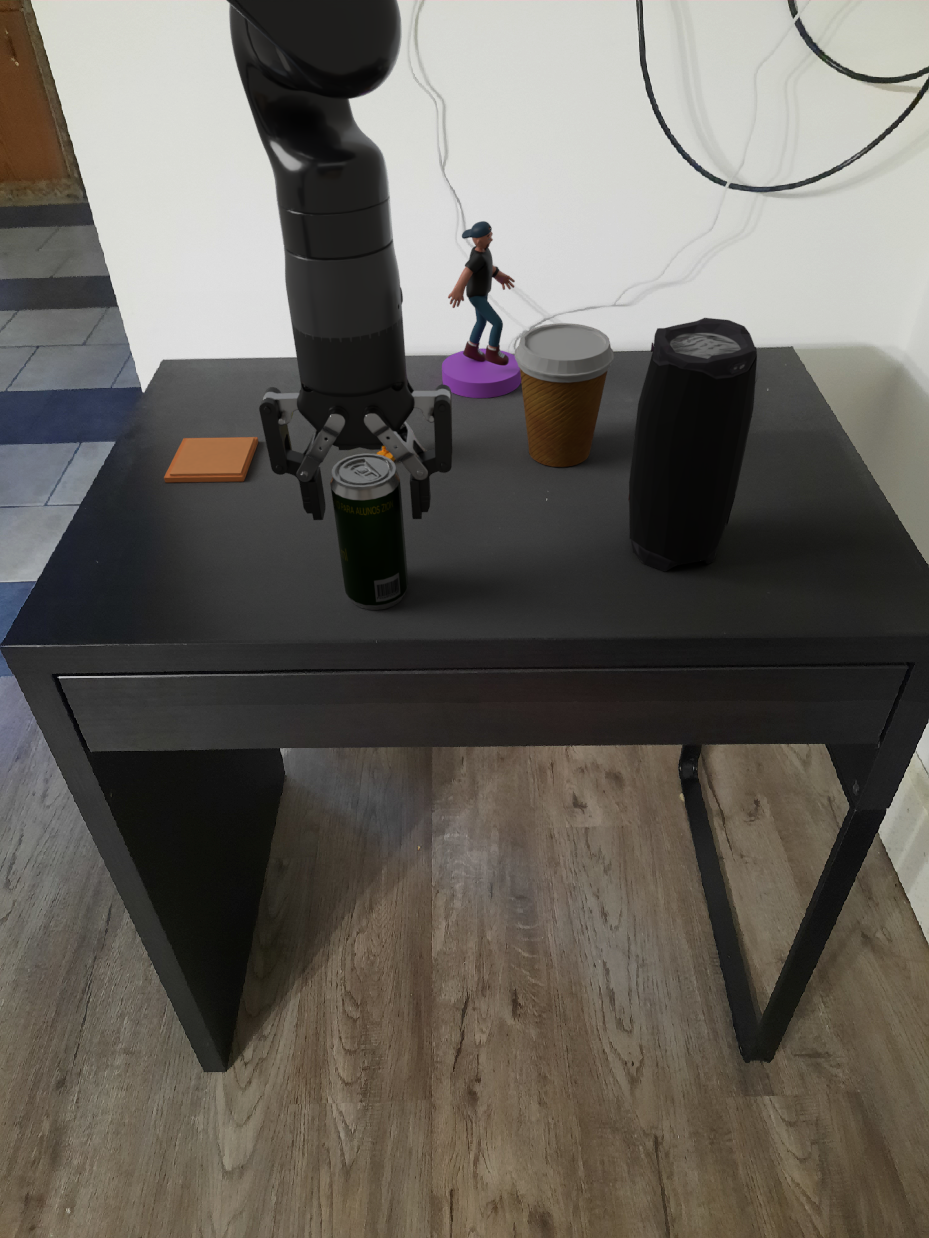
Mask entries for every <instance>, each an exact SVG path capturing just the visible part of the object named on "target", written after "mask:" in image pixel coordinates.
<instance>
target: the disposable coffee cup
mask: <svg viewBox="0 0 929 1238" xmlns="http://www.w3.org/2000/svg"><path fill="white" fill-rule="evenodd" d="M514 355H515V359H516V361H517V363H518V367H519V368H520V374H521V383H520V384H521V392H522V401H523V409H524V418H525V425H526V426H525V427H526V436H527V445H528V454H529V456H530V458H531V459H533V460H534V461H535V462H537V463H538V464H541V465H545V466H547V467H552V468H553V467H556V468H566V467H567V468H568V467H573V466H577V465H579V464H581V463H583V462H585V461H586V460H587V459H588V458H589V456H590V453H591V449H592V445H593V440H594V435H595V431H596V426H597V421H598V417H599V412H600V407H601V403H602V398H603V393H604V388H605V384H606V380H607V375H608V370H609V369H610V367H611V365H612V363H613V362H614V358H615V352H614V350H613V349H612V347H611V341H610V338H609V336H608V335H607V334H606V333H604V332H603V331H601V330H600V329H598V328H595V327H592V326H589V325H585V324H579V323H568V322H560V323H558V322H557V323H549V324H543V325H539V326H536V327H533V328H530V329H529V330H526V331H525V332H524V333H523V334H522V335H521V337H520V339H519V343H518V346H517V347H516V348H515V350H514Z"/></svg>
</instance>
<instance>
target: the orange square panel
mask: <svg viewBox="0 0 929 1238" xmlns="http://www.w3.org/2000/svg"><path fill="white" fill-rule="evenodd" d="M258 444H259V437H257V436H249V437H248V436H242V437H241V436H239V437H234V436H233V437H183V439H182V441H181V443H180V445H179V446H178V449H177V450H176V453H175V454H174V457H173V458H172V460H171V463H170V465H169V467H168V469H167V470H166V472H165V475H164V477H163V479H164V483H223V482H224V483H226V482H228V483H229V482H230V483H232V482H244V481H245V479H246V477H247V474H248V471H249V470H250V469H249V468H250V466H251V463H252V460H253V458H254V455H255V453H256V449H257V447H258Z"/></svg>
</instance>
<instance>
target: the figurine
mask: <svg viewBox="0 0 929 1238" xmlns="http://www.w3.org/2000/svg"><path fill="white" fill-rule="evenodd" d="M492 228H493V227H492V225H491V224H490V223H489V222H488V221H485V220H483V221H478V222H475V223H474V224H473V225H472V226H471V228H468V229H465V230H464V231H463V232H462V233H461V238H462V239H464V240H465V239H470V238H471V240H472V242H473V244H474V245H475V246H473V247H472V248H471V251H470V253H469V258H468V260H467V261H466V262H465V264H464V268H463V270H462V271H461V274H460V275H459V277H458V279H457V282H456V284H455V285H454V287H453V289H452V291H451V292H450V293H449V294H448V296H447V299H449V300H450V301H449V305H452V306H451V308H452V309H455V308H459V306H460V305H461V302H465V296H464V295H465V294H466V297H467V298H468V301H469V303H470V304H471V305H472V307H473V308H474V311H475V312H474V313H475V317H476V318H475V319H476V321H475V323H474V325H473V328H472V330H471V333H470V335H469V339H468V340H467V341H466V343H465V347H464V349H463V350H460V351H458V352H455V353H453V354H451V355H449V356H447V357H446V358H445V359H444V360H443V361H442V364H441V376H442V377H441V378H442V381H441V382H442V385H447V386H449V387H450V389H451V394H455V395H458V396H461V397H464V398H471V399H472V398H473V399H490V398H497V397H501V396H504V395H507V394H509V393H512V392H513V391H515V390H516V389H518V388H519V387H520V385H521V384H522V383H521V374H520V368H519V367H518V363H517V361H516V359H515V354H513V353H510V352H509V351H506V350H501V349H500V348H501V345H500V342H501V337H502V333H503V328H504V322H503V320H502V318H501V316H500V315H499V313H497V311H496V310H495V308H494V307H493V306H492V305H491V304H490V302H489V300H488V298H489V294H490V293H491V291H492V285H493V279H494V280H495V281H496V282H498V283H499V284H500V285H501V287H502V288H501V289H502V291H504V290H506V287H507V289H508V290H511V289H515V285H514V284H513V283H515V282H516V280H515V279H514V278H513V277H511V276H510V275H508V274H506V273H505V272H503V271H501V270H500V268H499V267H498V266H495V265H494V264H493V255H492V251H491V250H490V248H489V247H490V245H491V244H492V242H493V241H494V239H493V237H492V236H493V235H494V234H493V231H492ZM487 323H489V324H490V325H491V326H492V327H491V328H490V331H489V336H488V342H487V343H488V344H487V345H486V347H482V348H480V344H481V338H482V337H483V332H484V331H485V328H486V327H487Z"/></svg>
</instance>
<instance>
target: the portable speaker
mask: <svg viewBox="0 0 929 1238" xmlns="http://www.w3.org/2000/svg"><path fill="white" fill-rule="evenodd" d="M650 353H651V356H650V359H649V362H648V367H647V371H646V375H645V378H644V381H643V385H642V389H641V392H640V396H639V400H638V403H637V410H636V418H635V419H636V420H635V427H634V428H635V429H634V436H633V444H632V445H633V446H632V455H631V462H630V463H631V465H630V472H629V480H628V500H627V501H628V503H629V504H628V505H629V507H628V508H629V509H628V510H629V512H628V516H629V519H628V520H629V523H628V524H629V539H630V542H631V550H632V553H633V555H634V556H636V558H637V559H639V561H640V562H641V563H642V564H643V565H645V566H648V567H652V568H654V569H657V570H660V571H663V572H667V571H669V570H671V569H672V568H674V567H677V566H681V565H687V564H693V563H698V562H704V563H705V564H706V565H708V564H711V563H713V562H715V559H716V556H717V552H718V549H719V546H720V542H721V541H722V539H723V536H724V532H725V530H726V527H727V525H728V524H729V520H730V516H731V512H732V510H733V505H734V502H735V499H736V493H737V490H738V485H739V481H740V476H741V470H742V467H743V462H744V457H745V451H746V447H747V441H748V437H749V432H750V427H751V422H752V418H753V413H754V407H755V393H756V377H757V364H758V363H757V362H758V350H757V347H756V346H755V343H754V340H753V338H752V336H751V333H750V332H749V330H748V329H747V328H746V326H745V325H742V324H740V323H737V322H735V321H733V320H730V319H724V318H723V319H722V318H712V317H703V318H701V319H698V320H695V321H688V322H685V323H679V324H676V325H671V326H667V327H659V328H658V327H657V328H656V331H655V333H654V335H653V342H651V345H650Z"/></svg>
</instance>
